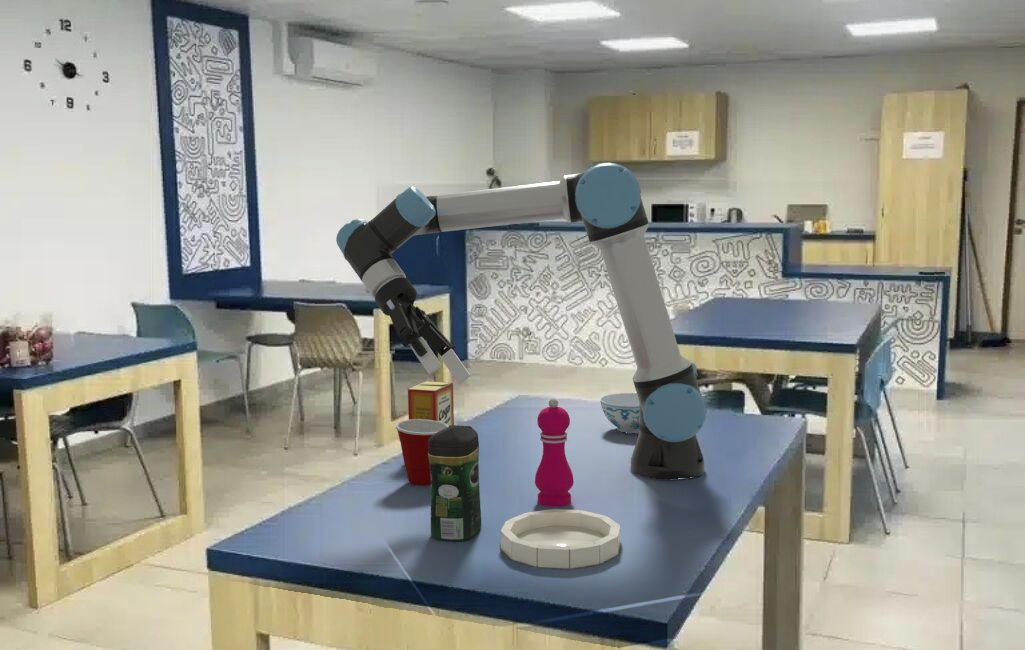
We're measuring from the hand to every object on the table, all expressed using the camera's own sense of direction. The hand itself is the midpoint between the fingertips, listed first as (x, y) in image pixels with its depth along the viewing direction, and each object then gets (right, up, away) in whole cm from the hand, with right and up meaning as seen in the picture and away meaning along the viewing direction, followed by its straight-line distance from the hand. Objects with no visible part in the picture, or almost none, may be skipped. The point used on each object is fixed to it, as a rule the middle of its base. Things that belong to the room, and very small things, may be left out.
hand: (450, 375), depth 179 cm
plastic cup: (-7, -23, +20) cm, 31 cm away
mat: (+19, -27, -18) cm, 38 cm away
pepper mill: (+19, -25, +5) cm, 31 cm away
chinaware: (+40, -17, +60) cm, 74 cm away
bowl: (+19, -27, -18) cm, 38 cm away
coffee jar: (+2, -27, -11) cm, 29 cm away
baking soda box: (-7, -20, +41) cm, 46 cm away
